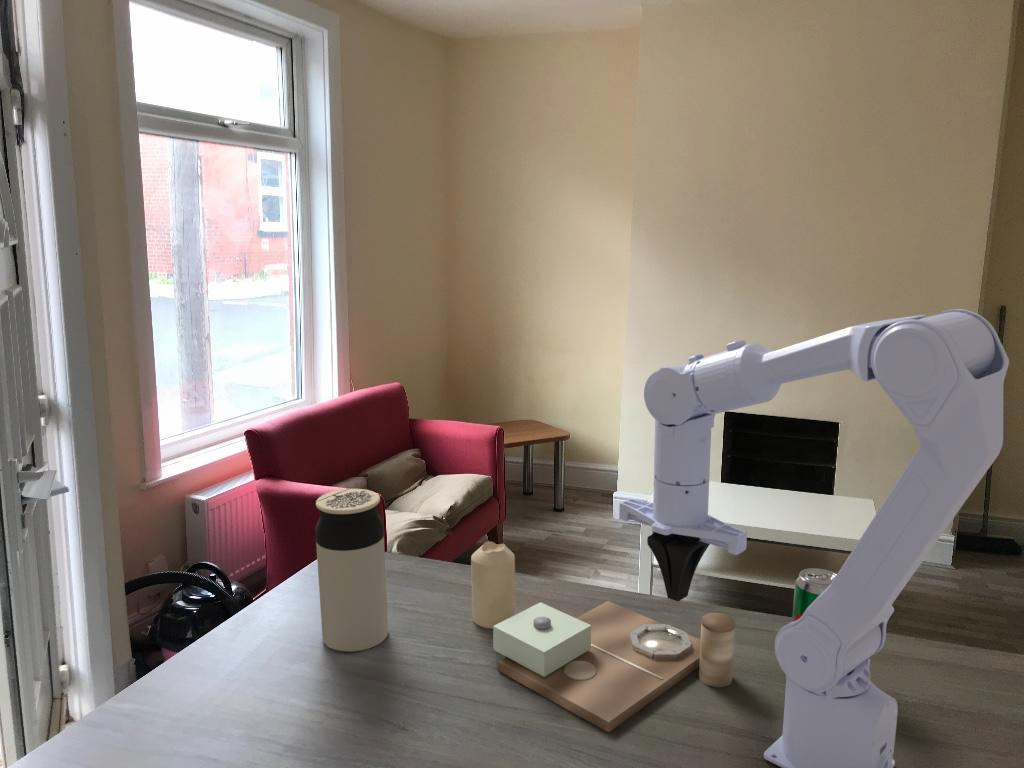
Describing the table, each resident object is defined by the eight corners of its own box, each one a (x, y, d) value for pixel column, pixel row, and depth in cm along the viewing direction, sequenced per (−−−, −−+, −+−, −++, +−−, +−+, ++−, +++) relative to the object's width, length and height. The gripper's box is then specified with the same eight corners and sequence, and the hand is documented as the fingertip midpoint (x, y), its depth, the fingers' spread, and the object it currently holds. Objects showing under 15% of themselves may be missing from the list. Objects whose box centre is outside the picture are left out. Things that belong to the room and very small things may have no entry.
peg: (738, 677, 92) (741, 620, 90) (721, 691, 89) (724, 632, 88) (710, 665, 94) (712, 609, 93) (692, 678, 92) (695, 621, 90)
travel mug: (401, 635, 101) (395, 498, 97) (347, 661, 96) (339, 516, 92) (362, 614, 107) (355, 482, 103) (309, 637, 101) (300, 499, 97)
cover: (590, 648, 95) (591, 620, 94) (544, 676, 90) (544, 647, 89) (540, 624, 101) (540, 597, 100) (493, 649, 95) (493, 621, 94)
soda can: (840, 690, 89) (849, 588, 87) (791, 685, 90) (798, 584, 88) (832, 665, 94) (840, 568, 92) (786, 660, 95) (792, 564, 93)
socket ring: (700, 642, 97) (701, 638, 97) (667, 665, 92) (667, 661, 92) (653, 622, 101) (653, 618, 101) (619, 643, 97) (619, 639, 97)
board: (715, 655, 96) (715, 644, 96) (608, 732, 83) (608, 720, 82) (607, 609, 107) (607, 599, 107) (497, 670, 94) (497, 659, 93)
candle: (466, 613, 107) (464, 541, 105) (504, 604, 109) (503, 534, 107) (482, 633, 102) (481, 558, 100) (522, 623, 104) (521, 550, 102)
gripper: (602, 471, 88) (601, 588, 91) (723, 503, 78) (718, 633, 81) (641, 456, 93) (638, 568, 96) (759, 485, 83) (752, 608, 86)
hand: (677, 596), depth 89 cm, fingers closed
